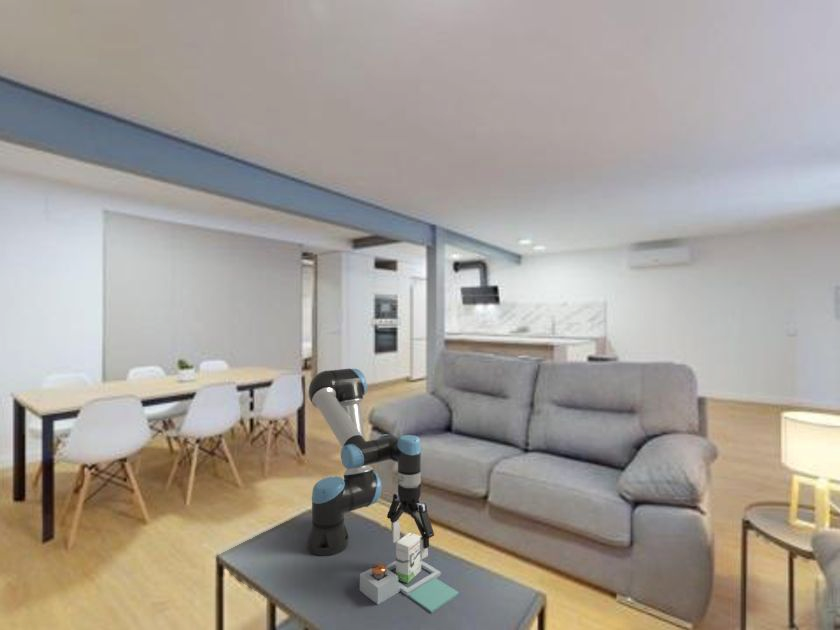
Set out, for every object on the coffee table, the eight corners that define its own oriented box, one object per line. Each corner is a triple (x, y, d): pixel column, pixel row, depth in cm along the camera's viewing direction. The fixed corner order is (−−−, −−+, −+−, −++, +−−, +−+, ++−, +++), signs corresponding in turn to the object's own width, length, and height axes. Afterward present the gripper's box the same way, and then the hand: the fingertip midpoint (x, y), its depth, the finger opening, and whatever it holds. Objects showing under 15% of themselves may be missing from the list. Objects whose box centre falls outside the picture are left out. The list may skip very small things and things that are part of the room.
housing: (354, 585, 135) (354, 570, 135) (410, 556, 152) (410, 542, 152) (384, 609, 125) (384, 592, 125) (440, 575, 141) (440, 560, 141)
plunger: (368, 586, 133) (368, 567, 133) (380, 580, 136) (380, 561, 136) (377, 593, 130) (377, 573, 130) (388, 586, 133) (389, 567, 133)
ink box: (407, 584, 136) (408, 547, 136) (395, 579, 139) (395, 542, 139) (421, 570, 144) (421, 535, 144) (409, 565, 146) (409, 531, 146)
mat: (408, 596, 130) (408, 594, 130) (435, 579, 139) (435, 577, 139) (431, 613, 123) (431, 611, 123) (459, 594, 132) (459, 592, 132)
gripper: (376, 477, 148) (377, 539, 147) (428, 498, 130) (428, 569, 129) (393, 471, 153) (393, 531, 153) (444, 491, 135) (445, 559, 135)
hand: (409, 549), depth 141 cm, fingers open, 13 cm apart
